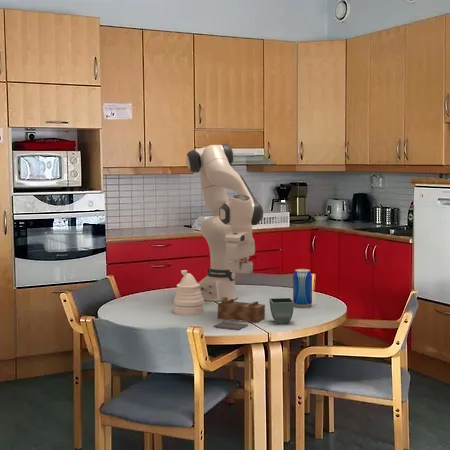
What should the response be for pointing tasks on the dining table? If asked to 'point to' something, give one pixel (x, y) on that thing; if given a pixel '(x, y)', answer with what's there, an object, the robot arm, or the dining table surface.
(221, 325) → the mat
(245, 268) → the lever cap
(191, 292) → the honey pot
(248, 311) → the body
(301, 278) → the beer can
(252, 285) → the dining table surface
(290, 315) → the flower pot
